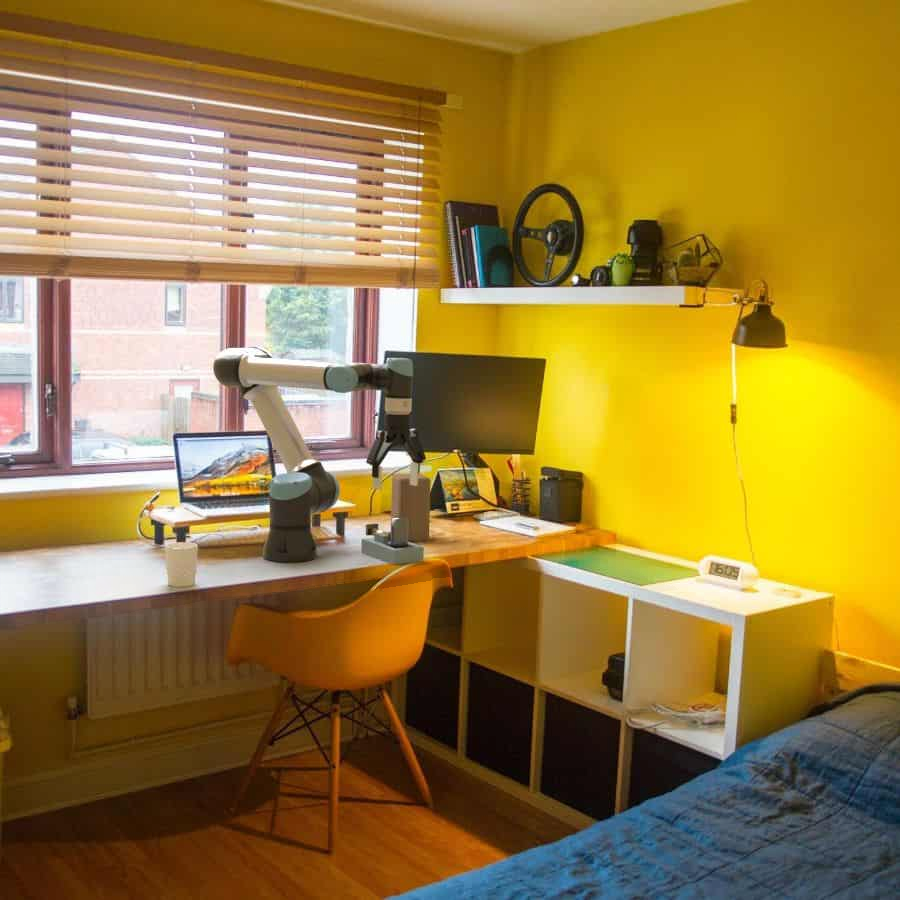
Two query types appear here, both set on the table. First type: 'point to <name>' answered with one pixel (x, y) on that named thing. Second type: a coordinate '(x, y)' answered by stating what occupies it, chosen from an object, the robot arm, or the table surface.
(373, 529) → the lock pin
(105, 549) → the table surface
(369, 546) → the mount
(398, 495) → the wooden block
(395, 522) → the spigot
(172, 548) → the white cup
